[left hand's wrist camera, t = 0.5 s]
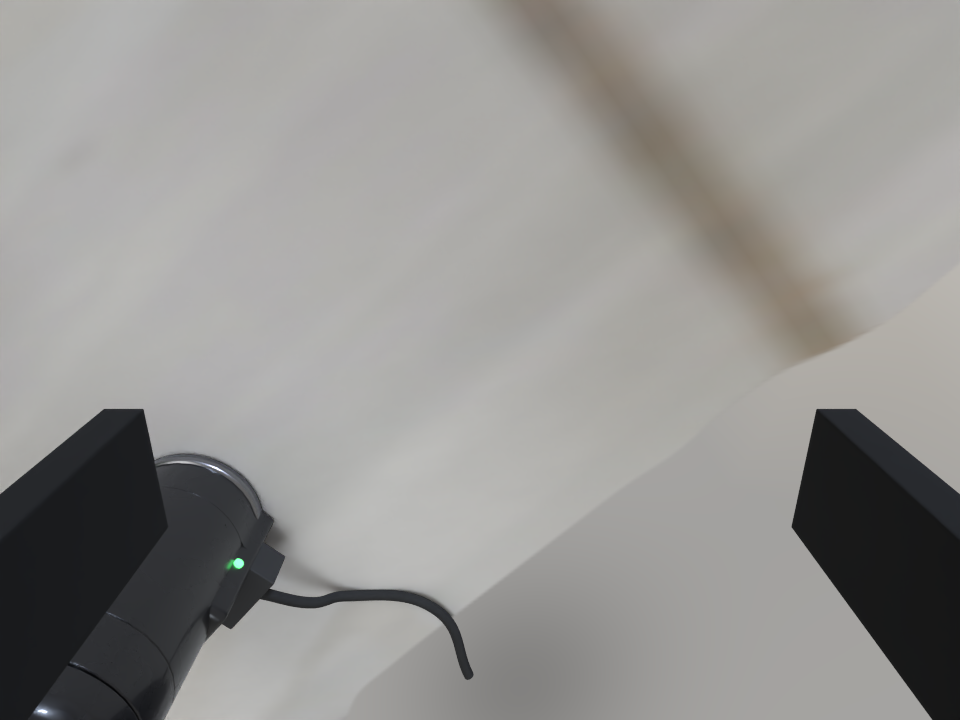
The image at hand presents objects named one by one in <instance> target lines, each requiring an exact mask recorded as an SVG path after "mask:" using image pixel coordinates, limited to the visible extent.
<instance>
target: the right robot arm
mask: <svg viewBox="0 0 960 720" xmlns="http://www.w3.org/2000/svg"><path fill="white" fill-rule="evenodd" d="M155 466H156V471H157V476H158V480H159V485H160V490H161V494H162V499H163V504H164V509H165V513H166V518H167V523H168V528H167V530H166V531H165V532H164V534H163V535H162V537H161V538H160V539H159V541H158V542H157V543H156V545H155V546H154V547H153V549H152V550H151V552H150V553H149V554H148V556H147V557H146V558H145V560H144V561H143V563H142V564H141V565H140V567H139V568H138V569H137V571H136V572H135V573H134V575H133V576H132V578H131V579H130V580H129V582H128V583H127V584H126V586H125V587H124V588H123V590H122V591H121V593H120V594H119V595H118V597H117V598H116V599H115V601H114V602H113V604H112V605H111V606H110V608H109V609H108V610H107V612H106V613H105V614H104V616H103V617H102V619H101V620H100V621H99V623H98V624H97V625H96V627H95V628H94V630H93V631H92V632H91V634H90V635H89V636H88V638H87V639H86V640H85V642H84V643H83V645H82V646H81V647H80V649H79V650H78V651H77V653H76V654H75V656H74V657H73V658H72V660H71V661H70V662H69V664H68V665H67V666H66V668H65V669H64V671H63V672H62V673H61V675H60V676H59V677H58V679H57V680H56V682H55V683H54V684H53V686H52V687H51V688H50V690H49V691H48V692H47V694H46V695H45V697H44V698H43V699H42V701H41V702H40V703H39V705H38V706H37V708H36V709H35V710H34V712H33V713H32V714H31V716H30V717H29V718H28V720H164V719H165V717H166V715H167V713H168V711H169V709H170V707H171V705H172V703H173V701H174V699H175V697H176V696H177V694H178V692H179V690H180V688H181V686H182V684H183V682H184V680H185V678H186V676H187V674H188V672H189V670H190V668H191V666H192V665H193V663H194V661H195V659H196V657H197V655H198V653H199V651H200V649H201V647H202V645H203V644H204V642H205V641H206V640H207V639H208V638H209V637H210V636H211V635H212V634H213V633H214V632H215V630H216V629H217V628H218V627H219V626H220V625H221V624H223V625H224V626H226V627H228V628H229V629H232V628H233V627H234V626H235V625H236V624H237V623H238V621H239V620H240V619H241V618H242V617H243V616H244V615H245V614H246V613H247V612H248V611H249V610H250V609H251V608H252V607H253V606H254V604H255V603H256V602H257V601H258V600H259V599H262V600H267V601H271V602H275V603H279V604H283V605H287V606H292V607H299V608H320V607H324V606H327V605H330V604H332V603H335V602H343V601H369V600H389V601H399V602H405V603H409V604H413V605H416V606H419V607H421V608H423V609H425V610H427V611H429V612H431V613H432V614H433V615H435V616H436V617H437V618H438V619H440V620H441V621H442V622H443V624H444V625H445V626H446V628H447V629H448V631H449V633H450V635H451V638H452V640H453V643H454V647H455V651H456V655H457V658H458V662H459V665H460V668H461V671H462V673H463V675H464V677H465V679H467V680H469V679H471V678H472V677H473V672H472V669H471V667H470V665H469V662H468V659H467V656H466V652H465V648H464V644H463V640H462V637H461V634H460V631H459V629H458V627H457V625H456V623H455V621H454V620H453V619H452V617H451V616H450V615H449V614H448V613H447V612H446V611H445V610H444V609H443V608H441V607H440V606H439V605H437V604H436V603H434V602H432V601H430V600H428V599H426V598H424V597H422V596H419V595H416V594H412V593H408V592H403V591H395V590H359V591H338V592H334V593H330V594H327V595H324V596H321V597H303V596H296V595H292V594H288V593H284V592H280V591H276V590H272V589H270V587H271V586H272V585H273V584H274V582H275V580H276V578H277V575H278V573H279V571H280V568H281V566H282V564H283V561H284V559H285V556H284V555H282V554H281V553H279V552H278V551H276V550H274V549H273V548H271V547H270V546H268V545H267V544H265V543H264V540H265V538H266V536H267V534H268V532H269V530H270V528H271V526H272V524H273V522H274V521H273V519H272V518H271V517H269V516H268V515H266V514H265V513H264V512H263V511H262V508H261V504H260V502H259V499H258V497H257V495H256V493H255V492H254V490H253V489H252V487H251V486H250V485H249V483H248V482H247V481H246V480H245V479H244V478H243V477H242V476H241V475H240V474H238V473H237V472H236V471H235V470H233V469H232V468H230V467H228V466H227V465H225V464H223V463H221V462H219V461H216V460H214V459H211V458H208V457H204V456H199V455H191V454H178V455H171V456H166V457H163V458H160V459H157V460H155Z"/></svg>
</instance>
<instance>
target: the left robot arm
mask: <svg viewBox="0 0 960 720" xmlns="http://www.w3.org/2000/svg"><path fill="white" fill-rule="evenodd" d="M167 528H168V523H167V518H166V513H165V509H164V504H163V499H162V494H161V490H160V485H159V480H158V476H157V471H156V466H155V461H154V457H153V452H152V447H151V443H150V438H149V433H148V428H147V424H146V419H145V414H144V410H143V409H104V410H102V411H101V412H100V413H99V414H97V415H96V416H95V417H94V418H93V419H91V420H90V421H89V422H88V423H87V424H85V425H84V426H83V427H82V428H80V429H79V430H78V431H77V432H76V433H74V434H73V435H72V436H71V437H69V438H68V439H67V440H66V441H65V442H63V443H62V444H61V445H60V446H58V447H57V448H56V449H55V450H54V451H52V452H51V453H50V454H49V455H48V456H46V457H45V458H44V459H43V460H41V461H40V462H39V463H38V464H37V465H35V466H34V467H33V468H32V469H30V470H29V471H28V472H27V473H26V474H24V475H23V476H22V477H21V478H19V479H18V480H17V481H16V482H15V483H13V484H12V485H11V486H10V487H9V488H7V489H6V490H5V491H4V492H2V493H1V494H0V720H28V718H29V717H30V716H31V714H32V713H33V712H34V710H35V709H36V708H37V706H38V705H39V703H40V702H41V701H42V699H43V698H44V697H45V695H46V694H47V692H48V691H49V690H50V688H51V687H52V686H53V684H54V683H55V682H56V680H57V679H58V677H59V676H60V675H61V673H62V672H63V671H64V669H65V668H66V666H67V665H68V664H69V662H70V661H71V660H72V658H73V657H74V656H75V654H76V653H77V651H78V650H79V649H80V647H81V646H82V645H83V643H84V642H85V640H86V639H87V638H88V636H89V635H90V634H91V632H92V631H93V630H94V628H95V627H96V625H97V624H98V623H99V621H100V620H101V619H102V617H103V616H104V614H105V613H106V612H107V610H108V609H109V608H110V606H111V605H112V604H113V602H114V601H115V599H116V598H117V597H118V595H119V594H120V593H121V591H122V590H123V588H124V587H125V586H126V584H127V583H128V582H129V580H130V579H131V578H132V576H133V575H134V573H135V572H136V571H137V569H138V568H139V567H140V565H141V564H142V563H143V561H144V560H145V558H146V557H147V556H148V554H149V553H150V552H151V550H152V549H153V547H154V546H155V545H156V543H157V542H158V541H159V539H160V538H161V537H162V535H163V534H164V532H165V531H166V530H167ZM792 528H793V530H794V531H795V532H796V534H797V535H798V536H799V538H800V539H801V541H802V542H803V543H804V545H805V546H806V547H807V549H808V550H809V552H810V553H811V554H812V556H813V557H814V558H815V560H816V561H817V563H818V564H819V565H820V567H821V568H822V569H823V571H824V572H825V573H826V575H827V576H828V578H829V579H830V580H831V582H832V583H833V584H834V586H835V587H836V588H837V590H838V591H839V593H840V594H841V595H842V597H843V598H844V599H845V601H846V602H847V604H848V605H849V606H850V608H851V609H852V610H853V612H854V613H855V614H856V616H857V617H858V619H859V620H860V621H861V623H862V624H863V625H864V627H865V628H866V630H867V631H868V632H869V634H870V635H871V636H872V638H873V639H874V640H875V642H876V643H877V645H878V646H879V647H880V649H881V650H882V651H883V653H884V654H885V656H886V657H887V658H888V660H889V661H890V662H891V664H892V665H893V666H894V668H895V669H896V671H897V672H898V673H899V675H900V676H901V677H902V679H903V680H904V682H905V683H906V684H907V686H908V687H909V688H910V690H911V691H912V692H913V694H914V695H915V697H916V698H917V699H918V701H919V702H920V703H921V705H922V706H923V708H924V709H925V710H926V712H927V713H928V714H929V716H930V717H931V718H932V720H960V494H959V493H958V492H956V491H955V490H954V489H953V488H951V487H950V486H949V485H948V484H947V483H945V482H944V481H943V480H942V479H941V478H939V477H938V476H937V475H936V474H934V473H933V472H932V471H931V470H929V469H928V468H927V467H926V466H925V465H923V464H922V463H921V462H920V461H918V460H917V459H916V458H915V457H914V456H912V455H911V454H910V453H909V452H908V451H906V450H905V449H904V448H903V447H901V446H900V445H899V444H898V443H897V442H895V441H894V440H893V439H892V438H891V437H889V436H888V435H887V434H886V433H884V432H883V431H882V430H881V429H880V428H878V427H877V426H876V425H875V424H873V423H872V422H871V421H870V420H869V419H867V418H866V417H865V416H864V415H863V414H861V413H860V412H859V411H858V410H856V409H817V410H816V414H815V419H814V424H813V429H812V433H811V438H810V443H809V447H808V452H807V457H806V461H805V466H804V471H803V476H802V480H801V485H800V490H799V495H798V499H797V504H796V509H795V513H794V518H793V523H792Z"/></svg>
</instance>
